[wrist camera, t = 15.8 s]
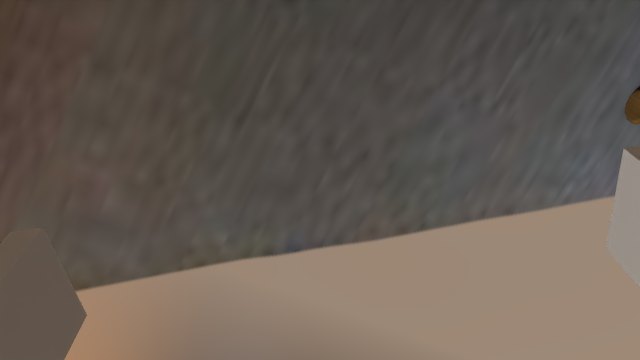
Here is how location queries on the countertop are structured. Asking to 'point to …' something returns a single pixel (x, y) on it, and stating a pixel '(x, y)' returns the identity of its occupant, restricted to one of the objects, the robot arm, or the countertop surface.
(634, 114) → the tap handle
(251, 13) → the countertop surface
